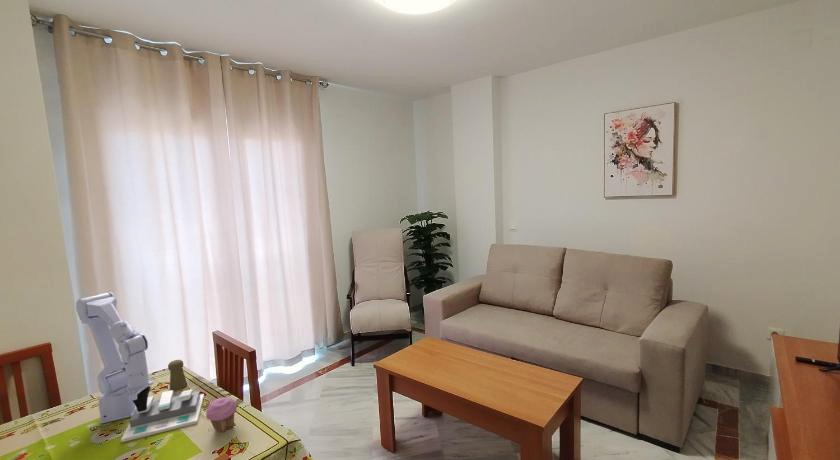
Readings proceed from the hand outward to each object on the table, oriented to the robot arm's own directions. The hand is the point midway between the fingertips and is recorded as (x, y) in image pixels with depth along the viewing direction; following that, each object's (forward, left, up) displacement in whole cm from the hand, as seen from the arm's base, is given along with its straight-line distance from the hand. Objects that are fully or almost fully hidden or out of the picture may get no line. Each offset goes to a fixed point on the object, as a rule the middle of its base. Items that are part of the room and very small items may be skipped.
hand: (142, 410), depth 126 cm
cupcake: (+25, -14, -6) cm, 29 cm away
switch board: (+6, +2, -6) cm, 8 cm away
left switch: (0, +4, -1) cm, 4 cm away
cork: (+6, +24, -6) cm, 26 cm away
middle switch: (+6, +4, -1) cm, 7 cm away
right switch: (+12, +4, -1) cm, 13 cm away
